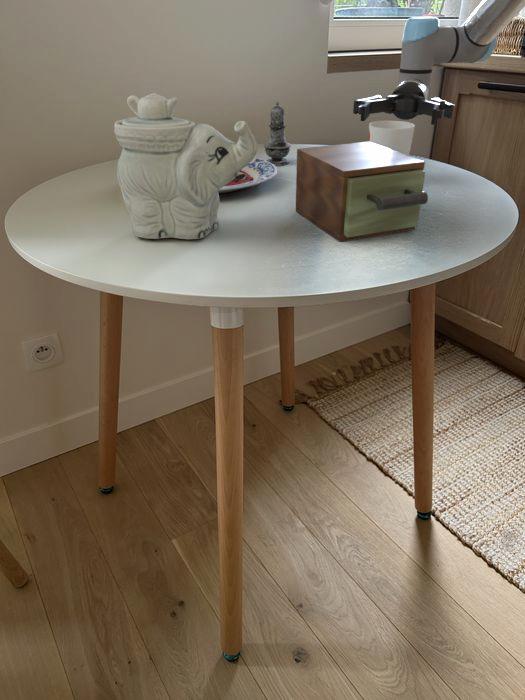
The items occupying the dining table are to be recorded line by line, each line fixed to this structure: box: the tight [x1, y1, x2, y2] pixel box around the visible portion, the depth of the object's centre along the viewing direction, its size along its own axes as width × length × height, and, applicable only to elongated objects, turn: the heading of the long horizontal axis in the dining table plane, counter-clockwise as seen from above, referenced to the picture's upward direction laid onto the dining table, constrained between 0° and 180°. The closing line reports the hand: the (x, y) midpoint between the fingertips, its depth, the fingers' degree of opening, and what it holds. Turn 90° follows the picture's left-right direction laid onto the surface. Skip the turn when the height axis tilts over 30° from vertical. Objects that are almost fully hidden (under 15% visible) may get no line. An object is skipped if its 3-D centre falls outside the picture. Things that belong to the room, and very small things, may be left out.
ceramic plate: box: [218, 157, 278, 194], centre depth 103 cm, size 26×26×3 cm
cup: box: [368, 120, 416, 156], centre depth 100 cm, size 8×8×10 cm
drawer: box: [344, 169, 429, 237], centre depth 79 cm, size 18×12×8 cm, turn 22°
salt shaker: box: [263, 100, 292, 167], centre depth 113 cm, size 6×6×12 cm
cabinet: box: [295, 140, 426, 242], centre depth 82 cm, size 15×13×10 cm
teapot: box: [113, 92, 258, 240], centre depth 76 cm, size 16×15×19 cm
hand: (397, 115), depth 106 cm, fingers open, 13 cm apart
